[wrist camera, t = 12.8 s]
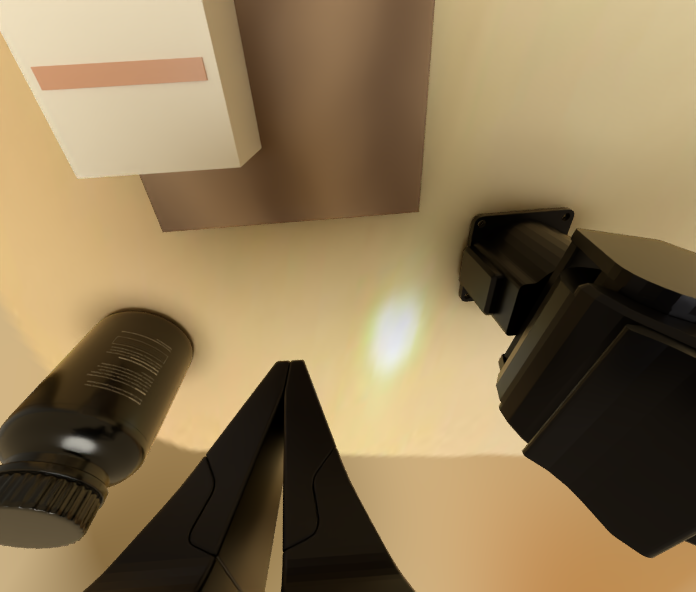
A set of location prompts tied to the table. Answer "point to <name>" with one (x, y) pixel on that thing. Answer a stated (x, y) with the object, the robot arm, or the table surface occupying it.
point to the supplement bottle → (87, 427)
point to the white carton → (137, 82)
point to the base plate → (318, 118)
